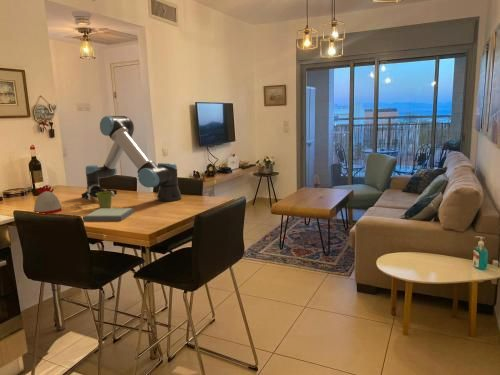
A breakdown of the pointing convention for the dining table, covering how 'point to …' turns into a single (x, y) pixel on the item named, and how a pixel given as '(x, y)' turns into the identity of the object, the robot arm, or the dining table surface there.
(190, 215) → the dining table surface
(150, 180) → the robot arm
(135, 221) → the dining table surface
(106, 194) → the plant pot
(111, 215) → the stand
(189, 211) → the dining table surface
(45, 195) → the grey dome
